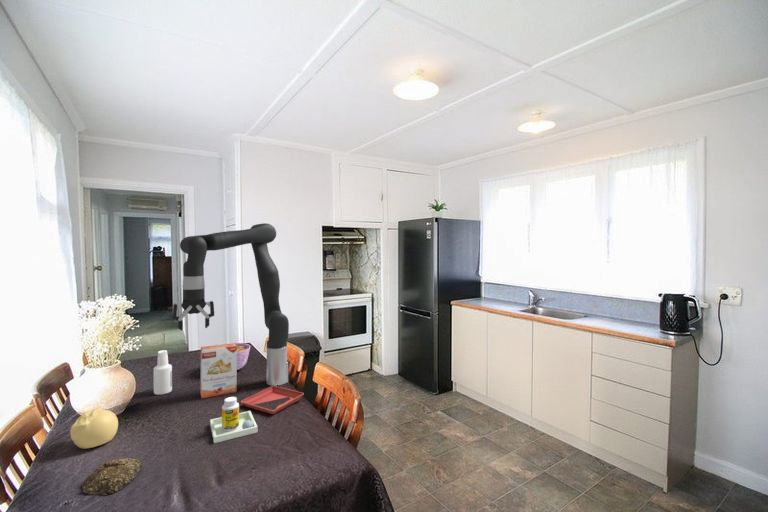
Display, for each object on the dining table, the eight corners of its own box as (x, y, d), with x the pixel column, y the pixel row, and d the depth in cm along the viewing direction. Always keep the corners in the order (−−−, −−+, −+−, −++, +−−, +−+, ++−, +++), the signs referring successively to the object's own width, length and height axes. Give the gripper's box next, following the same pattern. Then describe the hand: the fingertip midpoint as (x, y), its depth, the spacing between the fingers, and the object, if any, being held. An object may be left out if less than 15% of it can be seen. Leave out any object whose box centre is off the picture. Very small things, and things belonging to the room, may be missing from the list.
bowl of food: (198, 374, 175) (198, 351, 175) (227, 362, 194) (227, 341, 194) (232, 379, 169) (232, 355, 169) (258, 366, 188) (258, 344, 188)
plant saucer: (239, 408, 140) (239, 400, 140) (273, 392, 156) (273, 384, 156) (273, 419, 132) (273, 410, 132) (304, 400, 148) (304, 393, 148)
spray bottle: (175, 388, 158) (175, 349, 157) (164, 395, 151) (164, 353, 150) (161, 388, 158) (161, 348, 158) (149, 394, 152) (149, 353, 151)
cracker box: (201, 399, 147) (201, 350, 147) (200, 394, 152) (200, 346, 152) (237, 392, 155) (237, 345, 154) (234, 387, 160) (234, 342, 159)
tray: (250, 417, 132) (250, 410, 132) (257, 433, 121) (257, 426, 121) (210, 426, 125) (210, 419, 125) (214, 445, 114) (214, 437, 114)
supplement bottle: (223, 433, 120) (223, 403, 119) (220, 426, 124) (220, 397, 124) (240, 428, 123) (240, 400, 123) (237, 422, 127) (237, 394, 127)
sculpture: (80, 437, 118) (79, 405, 117) (123, 431, 122) (122, 400, 122) (63, 456, 107) (62, 421, 107) (110, 448, 111) (110, 415, 111)
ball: (251, 427, 124) (251, 417, 124) (253, 431, 121) (253, 421, 121) (241, 429, 122) (241, 419, 122) (243, 434, 119) (243, 424, 119)
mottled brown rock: (149, 466, 103) (149, 449, 103) (118, 496, 91) (118, 477, 91) (104, 466, 103) (104, 450, 103) (68, 497, 90) (67, 478, 90)
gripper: (213, 285, 143) (213, 325, 144) (172, 287, 136) (172, 329, 136) (214, 287, 137) (215, 328, 137) (172, 289, 130) (172, 333, 130)
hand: (194, 328), depth 137 cm, fingers open, 8 cm apart
